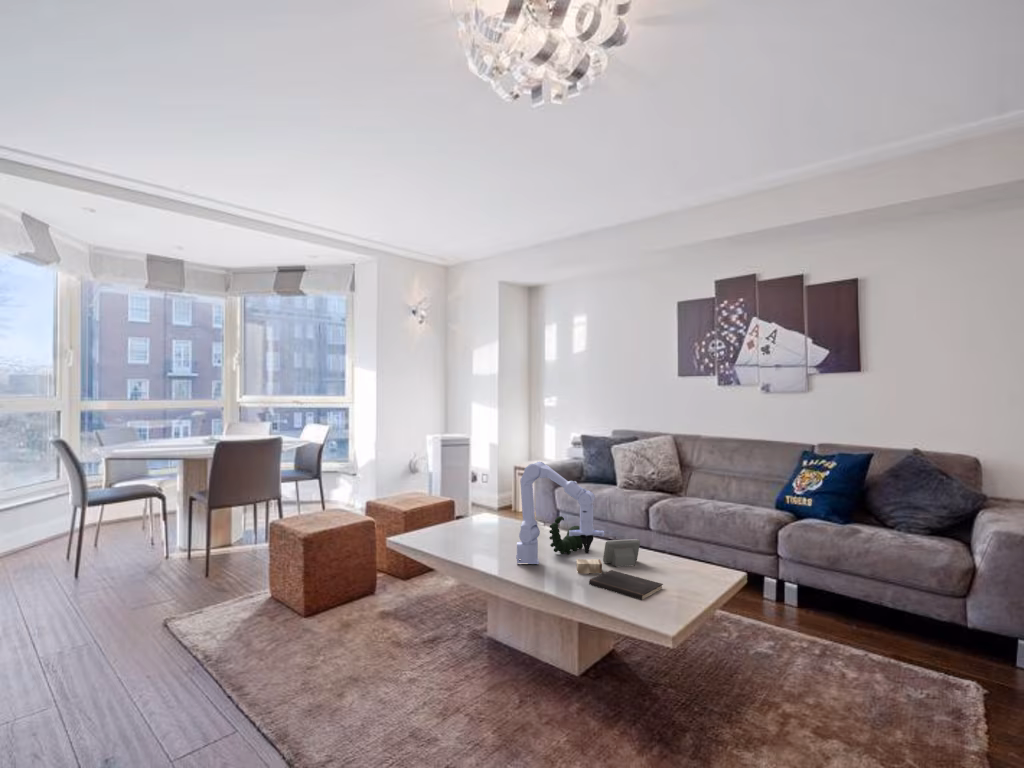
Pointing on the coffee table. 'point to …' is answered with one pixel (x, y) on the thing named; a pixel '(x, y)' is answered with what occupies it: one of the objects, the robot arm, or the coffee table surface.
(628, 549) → the digital clock
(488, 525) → the coffee table surface
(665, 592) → the coffee table surface
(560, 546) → the toy figurine
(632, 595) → the hardcover book
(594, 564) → the beech block
